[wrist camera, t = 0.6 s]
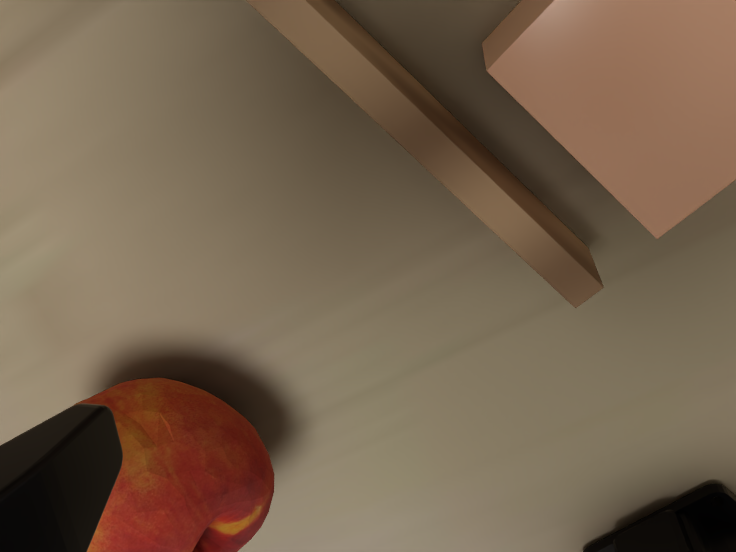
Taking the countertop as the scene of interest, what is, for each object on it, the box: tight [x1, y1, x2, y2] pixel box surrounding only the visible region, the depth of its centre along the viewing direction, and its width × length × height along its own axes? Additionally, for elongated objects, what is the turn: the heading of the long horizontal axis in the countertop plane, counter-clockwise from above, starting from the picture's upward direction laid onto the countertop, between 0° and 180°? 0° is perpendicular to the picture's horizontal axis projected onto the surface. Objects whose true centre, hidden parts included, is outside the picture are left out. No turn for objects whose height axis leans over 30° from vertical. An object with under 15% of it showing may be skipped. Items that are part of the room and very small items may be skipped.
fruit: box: [73, 378, 274, 552], centre depth 22 cm, size 8×8×8 cm
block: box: [482, 0, 736, 239], centre depth 15 cm, size 6×6×4 cm
